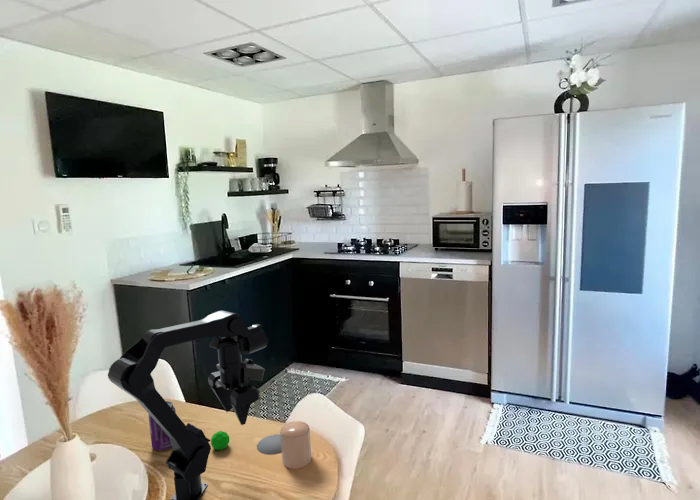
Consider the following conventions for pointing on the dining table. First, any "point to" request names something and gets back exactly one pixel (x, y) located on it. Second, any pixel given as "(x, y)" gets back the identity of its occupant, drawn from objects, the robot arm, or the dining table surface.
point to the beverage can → (159, 433)
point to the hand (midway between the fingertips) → (235, 417)
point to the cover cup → (295, 444)
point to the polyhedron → (220, 440)
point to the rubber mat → (270, 445)
